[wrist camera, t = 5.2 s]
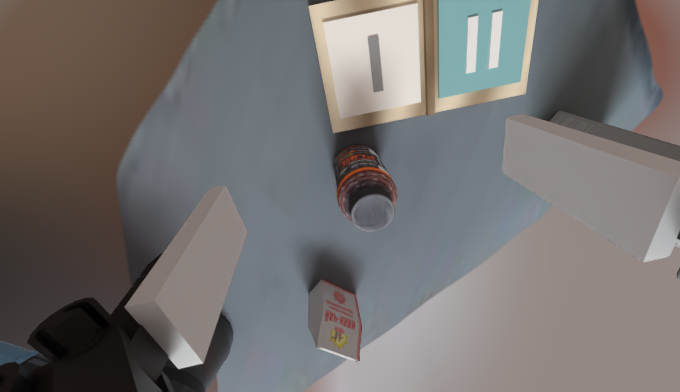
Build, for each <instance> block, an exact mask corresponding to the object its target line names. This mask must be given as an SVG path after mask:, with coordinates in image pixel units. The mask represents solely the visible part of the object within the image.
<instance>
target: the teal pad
mask: <svg viewBox="0 0 680 392" xmlns="http://www.w3.org/2000/svg"><path fill="white" fill-rule="evenodd" d="M530 2H531V0H437V18H438V98H444V97H449V96H454V95H459V94H464V93H468V92H473V91H478V90H483V89H488V88H493V87H498V86H503V85H507V84H512V83H517V82H520V81H521V73H522V65H523V57H524V50H525V42H526V34H527V26H528V18H529V10H530Z"/></svg>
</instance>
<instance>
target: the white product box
mask: <svg viewBox="0 0 680 392" xmlns="http://www.w3.org/2000/svg"><path fill="white" fill-rule="evenodd" d="M308 327H309V329H310V332H311V334H312V336H313V338H314V341H315V346H316V348H319V349H322V350H324V351H327V352H330V353H333V354H336V355H338V356H341V357H344V358H347V359H350V360H353V361H355V362H358V361H360V357H359V355H360V354H359V353H360V341H361V332H362V324H361V319H360V314H359V308H358V303H357V298H356V295H355V294H353V293H351V292H349V291H347V290H344V289H342V288H340V287H338V286H336V285H334V284H331V283H329V282H327V281H325V280H323V279H321V280H320V281H319V283H318V284H317V285H316V286H315V287H314V288H313V289H312V290H311V292H310V293H309V294H308Z"/></svg>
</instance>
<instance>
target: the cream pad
mask: <svg viewBox="0 0 680 392" xmlns="http://www.w3.org/2000/svg"><path fill="white" fill-rule="evenodd" d="M323 28H324V33H325V39H326V45H327V50H328V56H329V62H330V67H331V73H332V78H333V84H334V90H335V95H336V101H337V107H338V112H339V118H340V119H341V118H346V117H351V116H356V115H361V114H366V113H371V112H376V111H380V110H385V109H390V108H395V107H400V106H405V105H410V104H415V103H420V102H421V85H420V56H419V28H418V3H416V4H411V5H406V6H401V7H396V8H391V9H386V10H382V11H377V12H372V13H367V14H362V15H357V16H352V17H347V18H342V19H337V20H333V21H328V22H323Z"/></svg>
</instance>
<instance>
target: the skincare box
mask: <svg viewBox="0 0 680 392" xmlns="http://www.w3.org/2000/svg"><path fill="white" fill-rule="evenodd" d="M549 122H551V123H555V124H558V125H561V126H565V127H568V128H571V129H575V130H578V131H581V132H584V133H588V134H591V135H594V136H598V137H601V138H604V139H608V140H611V141H614V142H617V143H621V144H624V145H627V146H631V147H634V148H637V149H641V150H644V151H647V152H650V153H654V154H657V155H660V156H664V157H667V158H670V159H674V160H677V161H680V146H678V145H675V144H671V143H668V142H665V141H661V140H658V139H655V138H651V137H648V136H645V135H641V134H638V133H634V132H631V131H628V130H624V129H621V128H618V127H614V126H611V125H607V124H604V123H601V122H597V121H594V120H591V119H587V118H584V117H581V116H577V115H574V114H571V113H568V112H564V111H558V112H557V113H556V114H555V115H554V116H553V117H552V119H551V120H550V121H549ZM675 246H677V247H679V248H680V240H679V239H677V241H676V243H675Z"/></svg>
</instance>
